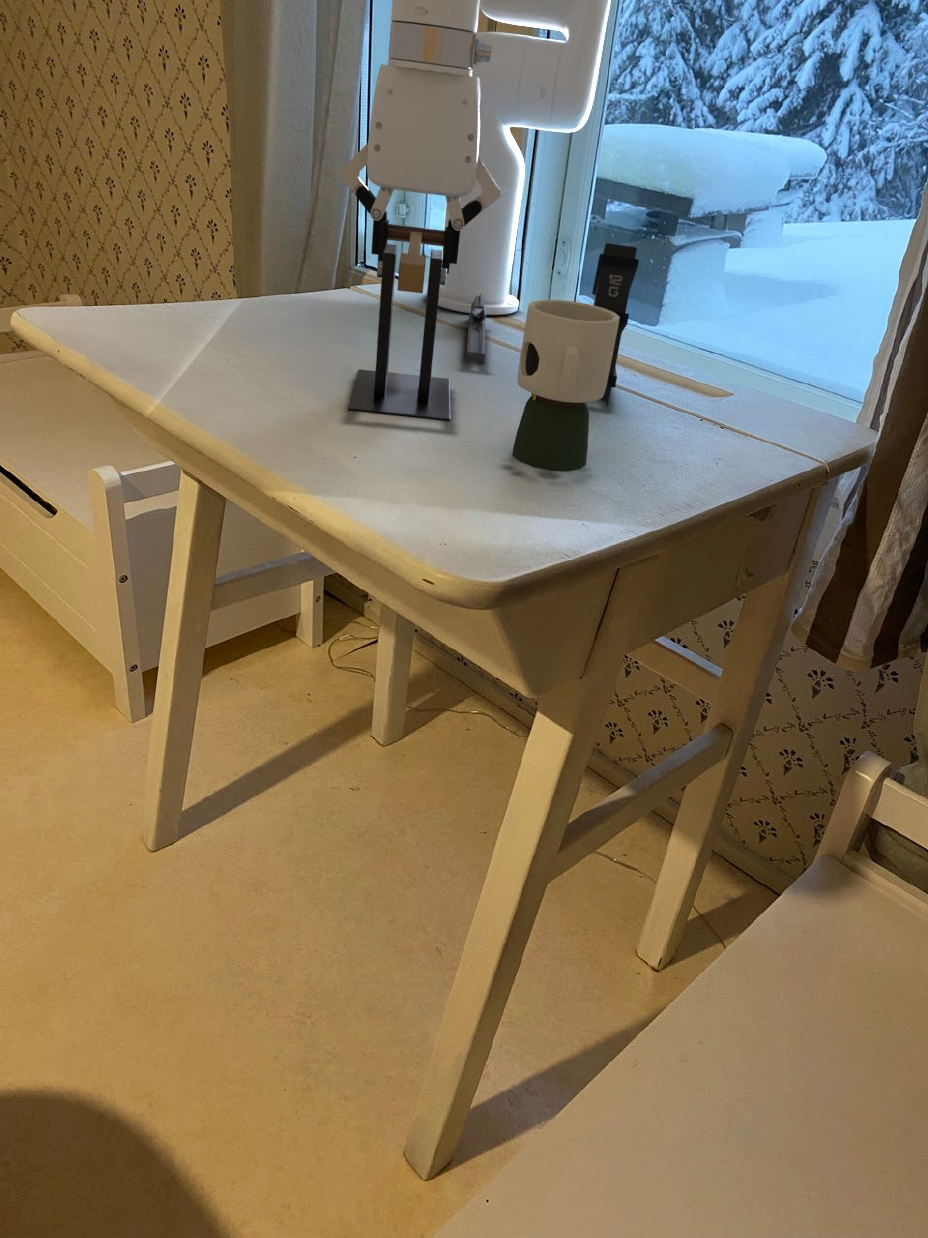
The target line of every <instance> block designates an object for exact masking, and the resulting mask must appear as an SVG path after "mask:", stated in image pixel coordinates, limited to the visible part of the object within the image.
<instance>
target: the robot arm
mask: <svg viewBox="0 0 928 1238" xmlns="http://www.w3.org/2000/svg"><path fill="white" fill-rule="evenodd" d="M610 6H611V0H392V1H391V14H390V21H391V22H390V31H389V45H388V47H389V48H388V61H387V64H382V63H380V65H379V68H378V72H377V77H376V82H375V86H374V93H373V100H372V107H371V114H370V122H369V123H370V124H369V130H368V131H369V132H368V142H367V143H366V144H365V145H364V146H363V147H362V148H361V149H360V150H359V151H358V152H357V153H356V154H355V155H354V156H353V157H352V158H351V160H350V161H349V162H348V163H346V164H345V165H344V166H343V168H342V169H341V170H340V171H339V178H340V179H341V181H342V182H343V183H344V185H346V186H347V188H348V189H349V190H350V191H351V192H352V193H353V194H354V196H355V197H356V198H357V200H358V201H359V202H360V204H361V205H362V206H363V207H364V209H365V210H366V211H367V212H368V214H369V215H370V217H371V219H372V235H371V250H370V251H371V253H370V255H377V262H378V261H383V253H384V250H385V246H386V244H389V243H388V241H389V240H387V233H388V224H390V219H388V211H387V207H388V205H389V202H390V201H391V198H392V195H393V193H394V191H402V192H403V191H404V192H411V193H418V194H426V195H433V196H434V195H435V196H444V197H445V200H446V211H445V220H444V228H443V230H444V231H445V241H444V246H442V249H441V250H442V268H446V269H447V273H446V283H445V285H440V289H439V299H438V307H440V308H443V309H446V310H450V311H455V312H459V313H466V314H469V312H471V305H472V303H473V301H474V299H475V296H479V295H480V294H481V297H484V303H485V306H486V316H497V315H498V316H501V315H502V316H503V315H509V314H513V313H516V311H518V310H519V304H520V303H519V300H518V299H517V297H515V296H513V295H511V294H510V285H511V279H512V278H511V276H512V269H513V263H514V262H513V261H514V255H515V248H516V241H517V233H518V227H519V217H520V211H521V203H522V202H521V201H522V195H523V188H524V183H525V172H526V170H525V169H526V168H525V161H524V160H525V159H524V157H523V154H522V152H521V150H520V148H519V146H518V144H517V142H516V140H515V138H514V137H513V135H512V133H511V130H510V128H512V127H513V128H514V127H515V128H526V129H535V130H540V131H541V130H542V131H548V132H549V131H550V132H556V133H557V132H558V133H574V132H577V131H579V130H581V129H582V128H583V127H584V126H585V124H586V123H587V121H588V119H589V116H590V113H591V110H592V107H593V103H594V99H595V93H596V88H597V83H598V77H599V70H600V69H599V68H600V65H601V58H602V54H603V53H602V52H603V46H604V41H605V36H606V31H607V23H608V18H609V13H610V8H611V7H610ZM480 10H481V12H482V13H483V14H484V15H485V16H486V17H488V18H489V19H492V20H494V21H497V22H500V23H504V24H509V25H516V26H522V27H523V26H524V27H530V28H538V29H545V30H546V29H547V30H553V31H559V32H561V33H562V34H563V35H564V36H565V38H566V39H565V40H559V39H551V38H543V37H534V36H531V35H524V34H516V33H510V32H509V33H508V32H501V31H500V32H499V31H483V32H482V31H481V32H478V24H479V14H480ZM365 167H366V172H367V173H366V174H367V178H368V180H369V182H371V183H372V184H374V185H375V186H377V187H380V188H379V189H378V192H377V194H376V195H375V194H374V193H373V192H372V191H371V189H370V188H369V186H367V185H366V184H365V183H364V182H363V180H362V179H361V178H360V172H361V171H362V170H363V169H364V168H365ZM482 310H483V309H482V308H481V309H479V308H475V309H474V312H476V313H480V312H481V311H482Z"/></svg>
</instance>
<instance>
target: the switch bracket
mask: <svg viewBox="0 0 928 1238" xmlns="http://www.w3.org/2000/svg"><path fill="white" fill-rule="evenodd" d="M442 250H443V249H441V250H440V249H433V248H431V249H430V259H429V269H428V270H429V271H428V279H427V290H426V302H425V314H424V324H423V333H422V334H423V335H422V344H421V345H422V346H421V357H420V367H419V375H416V374H407V373H399V372H389V363H390V351H391V336H392V322H393V308H394V298H395V297H394V295H395V282H396V268H397V254H398V245H397V244H390V243H388V244H386V246H385V250H384V253H383V261H378V260H377V265H376V267H377V268H376V278H377V279H381V281H380V297H379V312H378V314H379V315H378V328H377V343H376V357H375V370H370V369H363V368H362V369H361V368H360V369H358V371H357V374H356V378H355V381H354V386H353V389H352V392H351V397H350V400H349V404H348V407H347V411H348V412H355V413H366V414H367V413H368V414H375V415H385V416H393V417H394V416H395V417H405V418H414V419H423V420H432V421H442V422H451V385H450V383H451V382H450V378H445V377H434V376H432V370H433V360H434V348H435V341H436V340H435V339H436V338H435V337H436V329H437V328H436V327H437V320H438V319H437V318H438V310H439V309H438V307H439V306H438V299H439V289H440V285H445V283H446V273H447V269H446V268H442Z"/></svg>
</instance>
